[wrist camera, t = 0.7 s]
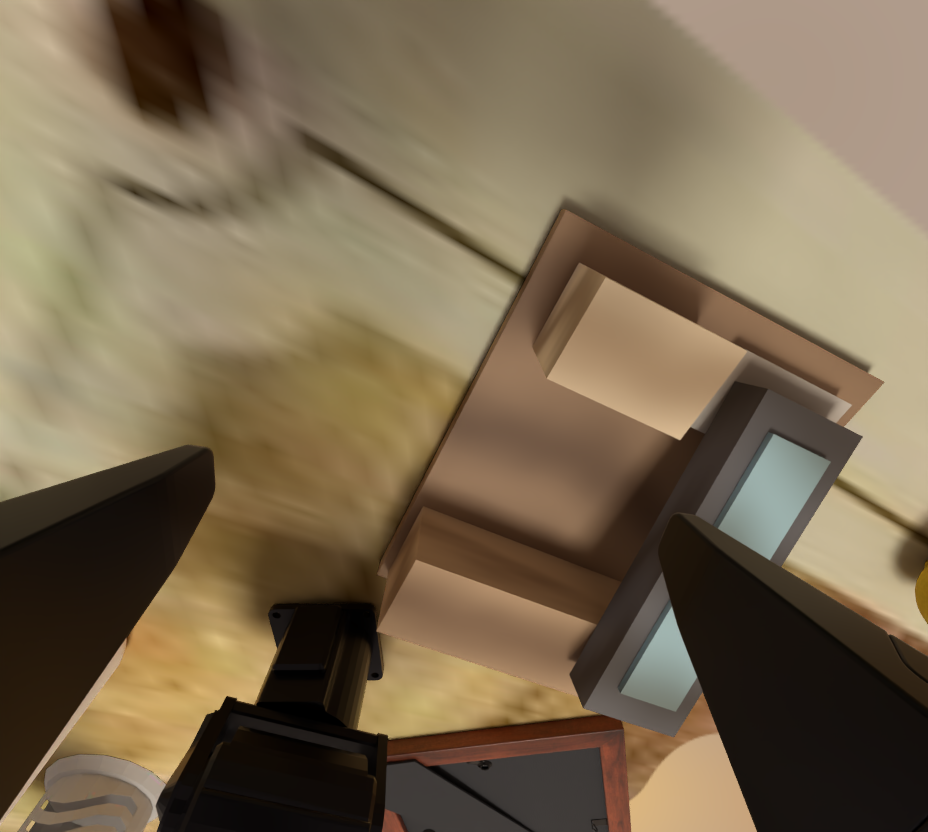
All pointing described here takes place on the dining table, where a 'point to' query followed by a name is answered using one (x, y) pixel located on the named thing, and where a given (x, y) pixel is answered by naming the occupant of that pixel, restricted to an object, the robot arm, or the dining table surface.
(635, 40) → the dining table surface
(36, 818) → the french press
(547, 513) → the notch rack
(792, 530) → the picture frame
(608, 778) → the picture frame
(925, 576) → the lemon
